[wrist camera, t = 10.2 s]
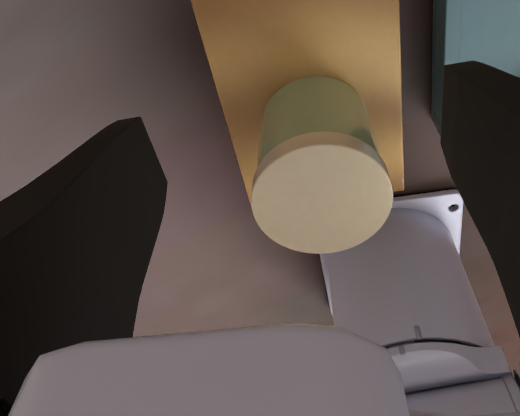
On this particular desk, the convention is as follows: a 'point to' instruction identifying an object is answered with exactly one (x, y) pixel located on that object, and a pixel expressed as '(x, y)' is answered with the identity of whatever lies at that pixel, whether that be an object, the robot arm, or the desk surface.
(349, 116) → the green jar
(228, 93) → the flat wooden board
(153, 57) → the desk surface
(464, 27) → the tray
